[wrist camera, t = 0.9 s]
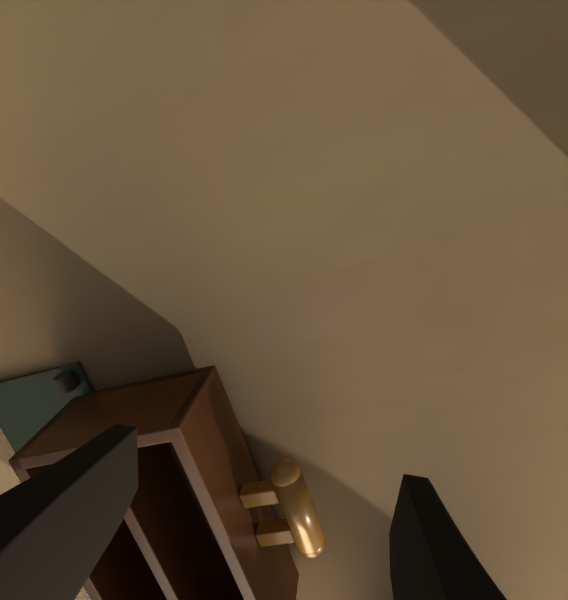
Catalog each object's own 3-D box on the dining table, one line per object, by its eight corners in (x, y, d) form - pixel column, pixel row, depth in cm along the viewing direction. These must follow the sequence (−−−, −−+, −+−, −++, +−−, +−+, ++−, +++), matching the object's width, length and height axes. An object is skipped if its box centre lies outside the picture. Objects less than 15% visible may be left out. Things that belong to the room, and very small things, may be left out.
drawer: (137, 678, 23) (351, 666, 21) (6, 460, 19) (253, 412, 17) (173, 587, 28) (351, 569, 25) (73, 396, 24) (275, 350, 21)
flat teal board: (108, 604, 30) (100, 620, 29) (-20, 386, 25) (-35, 396, 24) (196, 595, 29) (191, 612, 28) (79, 361, 24) (67, 372, 23)
